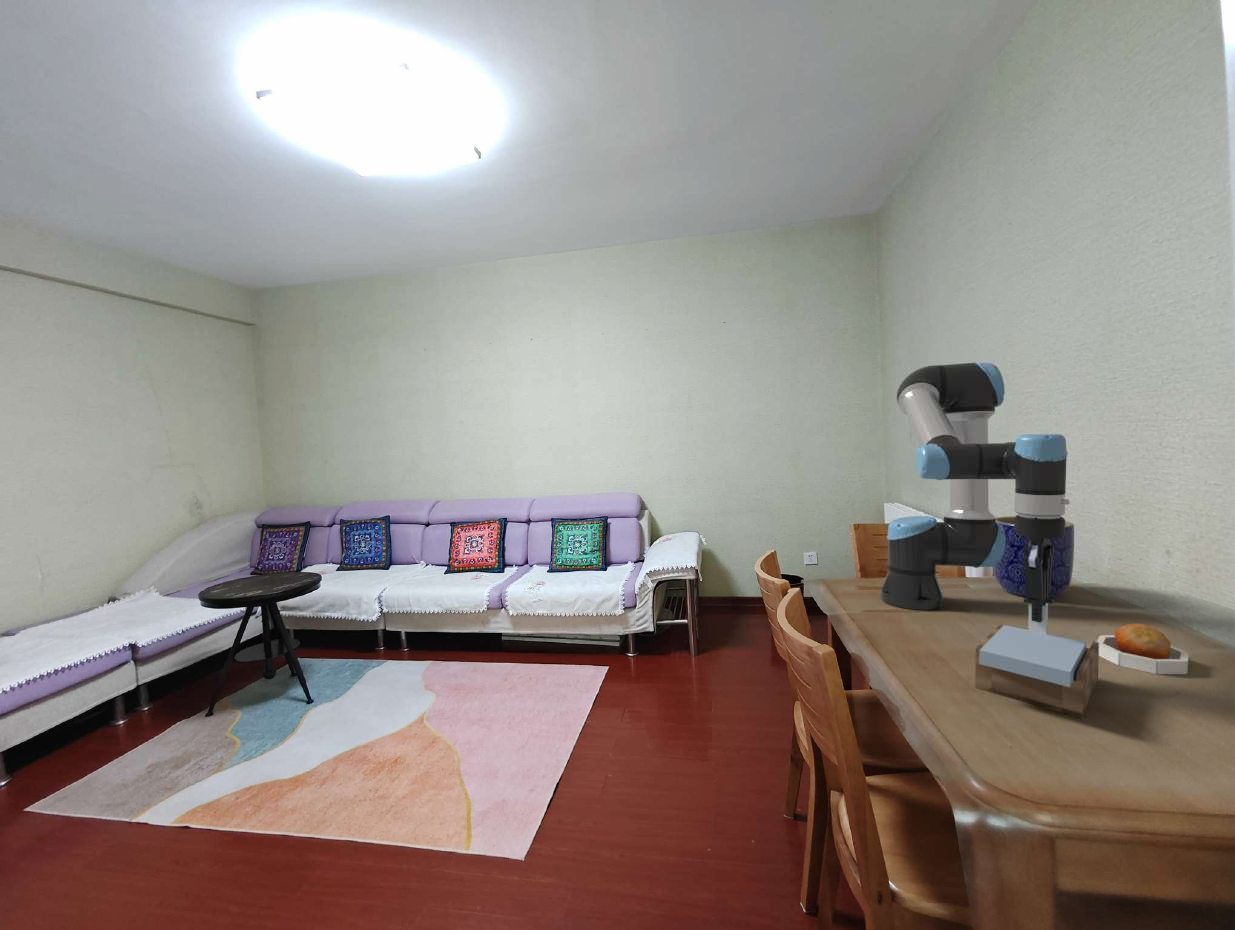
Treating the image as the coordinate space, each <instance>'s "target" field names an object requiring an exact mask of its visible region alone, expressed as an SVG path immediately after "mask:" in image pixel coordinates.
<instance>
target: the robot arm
mask: <svg viewBox="0 0 1235 930" xmlns="http://www.w3.org/2000/svg"><path fill="white" fill-rule="evenodd" d="M1004 396H1005V383H1004V378H1003V376H1002V373H1001V371H1000V370H999V367H998V366H996V365H995V364H994V363H991V362H967V363H954V364H953V363H952V364H941V365H940V364H939V365H936V364H935V365H934V364H933V365H928V366H923V367H921V368H917V369H916V370H915V371H913V372H911V373H910V374H908V375H907V376H906V377H905V378H904V379H903V380H902V381H901V383H900V384H899V386H898V389H897V392H896V401H897V404H898V405H897V406H898V407H899V409H900V411H901V412H902V413H903V414H905V415H907V417H908V419H909V422H910V424H911V426H912V429H913V432H914V434H915V436H916V438H917V441H918V443H919V446H918V447H917V450H916V455H915V465H916V472H917V474H918V476H919V477H920V478H921V479H923V480H925V479H927V480H930V479H931V480H937V481H943V480H949V509H948V511H947V512H946V513H944V514H943V522H938V521H937V519H936V518H935V517H934V516H929V515H925V516H923V515H913V516H903V517H899V518H895V519H893V520H892V521H890V523H889V524H888V527H887V528H888V529H887V536H886V540H887V573H886V575H885V579H884V582H883V583H882V586H881V589H880V598H881V600H882V601H883V602H885V603H886V604H888V605H891V606H895V607H899V608H904V609H909V610H922V611H924V610H925V611H927V610H936V609H937V610H938V609H941V608H942V607H943V606H944V595H943V593H942V589H941V587H940V584H939V580H938V579H937V575H936V574H937V573H936V572H937V571H936V569H937V566H946V567H947V566H948V567H971V568H976V569H977V568H993V566H995V565H996V564H998V563H999V561H1000V560H1001V558H1002V556H1003V553H1004V549H1005V535H1004V532H1005V531H1004V528H1003V526H1002V525H1001V524H998V523H996V518H997V517H996V515H994V514H993V513H992V512H991V511H990V510H989V480H1015V481H1014V482H1015V483H1014V484H1015V488H1014V512H1015V513H1016V515H1015V533H1016V534H1017V535H1020V536H1026V537H1027V538H1029V541H1028V544H1027V545H1025V546H1024V554H1025V555H1026V556H1024V558H1023V560H1024V566H1025V582H1026V597H1025V598H1024V599H1023V603H1024V604H1028V626H1027V627H1028V629H1027V630H1030V631H1035V632H1040V633H1045V634H1048V631H1049V630H1048V627H1049V625H1048V619H1049V617H1048V615H1049V614H1048V613H1049V612H1048V611H1049V604H1050V605H1051V604H1053V603H1054V599H1052V598H1049V599H1048V597H1050V595H1051V593H1050V586H1051V570H1052V557H1053V553H1054V546H1051V545H1050V539H1059V538H1063V537H1064V536H1065V521H1066V519H1065V517H1063V516H1064V515H1065V514H1066V505H1069V504H1070V503H1071V502H1070V500H1069V499H1067V498H1066V493H1067V492H1066V489H1067V488H1066V487H1067V486H1066V485H1067V482H1066V481H1067V458H1068V451H1067V440H1066V437H1065V436H1064V435H1063V434H1059V433H1051V434H1050V433H1037V434H1036V433H1033V434H1020V435H1018V436H1017V437H1016V441H1013V442H1012V441H1008V442H1002V443H1001V442H1000V443H999V442H998V443H997V442H996V443H995V442H993V443H989V419H990V418H991V417H992V416H993V415H995V413H996V408H998V407H999V406H1001V405H1002V403H1003V402H1004V398H1005V397H1004Z"/></svg>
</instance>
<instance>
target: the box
mask: <svg viewBox="0 0 1235 930" xmlns="http://www.w3.org/2000/svg"><path fill="white" fill-rule="evenodd" d="M1004 625H1006V626H1007V623H1005V622H1000V624H999V625H998V626H996V628H995V629H994V630H993V631H992V632H990V634H988V636H986V637H985V638H984V639H983V640H982V641H981V642H980V643H979V644H978V645H977V646H976V647H975V669H974V670H975V672H974V673H975V674H974V675H975V676H974V677H975V680H974V681H975V683H974V685H975V688H976V689H979V690H983V691H986V692H989V693H993V694H996V695H1000V696H1004V697H1007V698H1010V699H1014V700H1018V701H1019V702H1023V703H1024V702H1025V703H1028V704H1031V705H1034V706H1037V707H1041V708H1044V709H1048V710H1052V711H1055V712H1059V713H1063V714H1066V715H1069V716H1073V717H1076V718H1080V719H1083V716H1084V715H1085V712H1086V710H1087V707H1088V705H1089V703H1090V701H1091V699H1092V697H1093V694H1094V692H1095V689H1096V688H1097V685H1098V683H1099V662H1100V661H1099V659H1100V658H1099V657H1100V656H1099V643H1098V642H1097V641H1092V643H1091V645H1090V647H1089V648H1088V647H1086V656H1085V658H1084V659H1083V661H1082V663H1081V665H1080V667H1079V669H1078V671H1077V674H1076V676H1075V678H1074V680H1073V682H1072V684H1071V686H1070V687H1067V686H1063V685H1059V684H1055V683H1052V682H1048V681H1044V680H1040V679H1036V678H1032V677H1028V676H1024V675H1021V674H1017V673H1013V672H1009V671H1005V670H1001V669H997V668H993V667H989V666H986V665H982V664H979V652H980V649H981V648H982V647H983V646H984V645H985V644H986V643H987V642H988V641H989V640H990V639H991V638H992V637H993V636H994V635H995V634H996V633H997V632H998V631H999V630H1000V629H1001V628H1002V627H1003V626H1004Z"/></svg>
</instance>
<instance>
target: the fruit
mask: <svg viewBox="0 0 1235 930" xmlns="http://www.w3.org/2000/svg"><path fill="white" fill-rule="evenodd" d="M1114 635H1115V639H1116V643H1117V647H1118V649H1117V650H1118V651H1121V652H1123V653H1128V654H1132V655H1137V656H1142V657H1147V658H1152V659H1168V658H1169V654H1170V646H1172V644H1171V640H1169V639H1168V637H1166V636H1165V634H1164V633H1163V632H1161V631H1159V630H1158V629H1155V628H1153V627H1151V626H1149V625H1147V624H1145V623H1129V624H1125V625H1122V626H1120V627H1119V628H1118V629H1116V630H1115V632H1114Z"/></svg>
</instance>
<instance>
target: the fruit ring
mask: <svg viewBox="0 0 1235 930" xmlns="http://www.w3.org/2000/svg"><path fill="white" fill-rule="evenodd" d="M1096 642H1098V643H1099V657H1100V658H1103V659H1105V660H1107V661H1108V662H1110V663H1112V664H1114V665H1117V666H1120V667H1124V668H1128V669H1133V670H1136V671H1141V672H1146V673H1150V674H1155V675H1156V674H1157V675H1188V670H1189V656H1190V655H1189V652H1187V651H1185V650H1183V649H1180V648H1177V647H1175V646H1172V645H1170V654H1169V658H1168V659H1152V658H1147V657H1142V656H1137V655H1132V654H1128V653H1123V652H1121V651H1120V650H1119V649H1118V647H1117V643H1116V639H1115V634H1114V635H1113V634H1112V635H1111V634H1109V635H1108V634H1107V635H1099V637H1098V638H1097V640H1096Z"/></svg>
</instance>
